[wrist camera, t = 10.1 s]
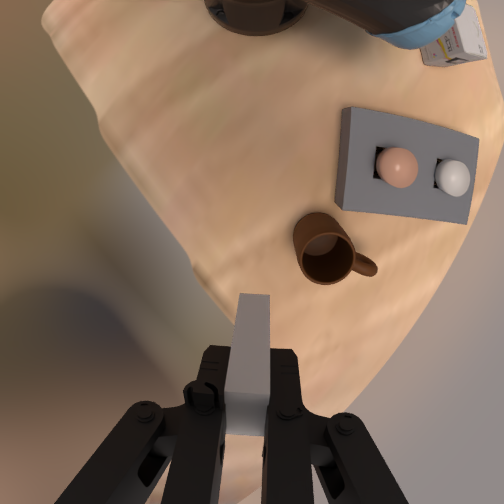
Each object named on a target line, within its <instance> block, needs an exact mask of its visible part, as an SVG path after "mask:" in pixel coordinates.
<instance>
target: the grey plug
mask: <svg viewBox="0 0 504 504" xmlns="http://www.w3.org/2000/svg"><path fill="white" fill-rule="evenodd" d="M434 181H435V182H436V183H437V186H438V187H439V189H440V190H441V191H443V192H445V193H448V194H450V195H452V196H455V197H458V196H461V195H463V194H464V193H465V192H466V191H467V189H468V187H469V184H470V173H469V170H468V168H467V167H466V165H465V164H464V163H462V162H459V161H455V160H451V159H445V160H443V161H442V162H440V163H436V172H435V179H434Z"/></svg>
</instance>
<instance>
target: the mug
mask: <svg viewBox="0 0 504 504" xmlns="http://www.w3.org/2000/svg"><path fill="white" fill-rule="evenodd" d="M293 241H294V246H295V252H296V256H297V260H298V263H299V266H300V268H301V270H302V272H303V274H304V275H305V277H307V278H308V279H309V280H310V281H312V282H314V283H317V284H321V285H330V284H335V283H337V282H339V281H341V280H343V279H344V278H345V277H346V276H347V275H348V274H349V273H350V272H351V270H353V271H355V272H357V273H359V274H361V275H364V276H369V277H372V276H374V275H376V273H377V270H378V268H377V266H376V264H375V263H374V262H373V261H372V260H371V259H369V258H368V257H366V256H364V255H362V254H360V253H357V252H355V249H354V246H353V244H352V242H351V240H350V238H349V236H348V235H347V234H346V232H345V231H344V230H343V228H342V227H341V226H340V225H339V223H338V222H337V221H336V220H335V219H334V218H333V217H331V216H329V215H327V214H324V213H313V214H309V215H307V216H305V217H304V218H302V219H301V220H300V221H299V223H298V224H297V225H296V228H295V230H294V234H293Z"/></svg>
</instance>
